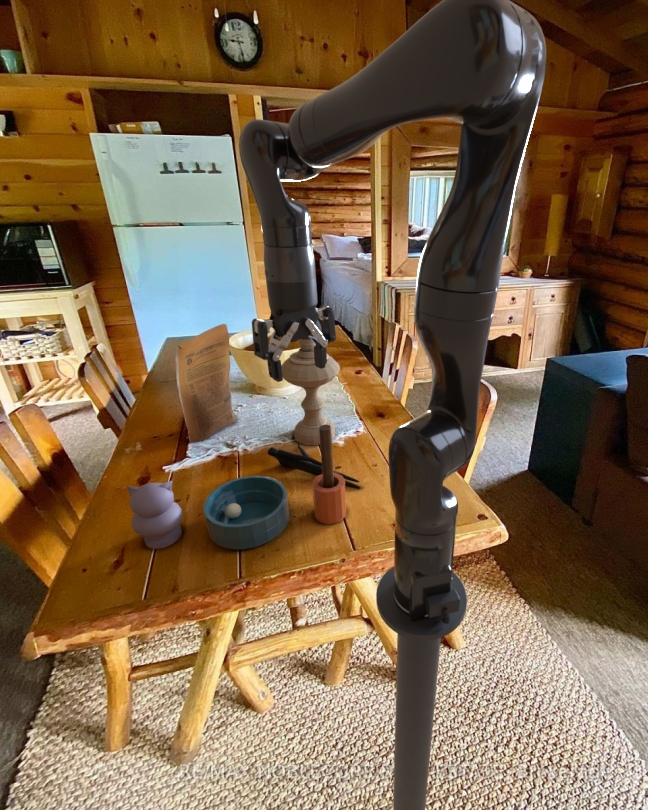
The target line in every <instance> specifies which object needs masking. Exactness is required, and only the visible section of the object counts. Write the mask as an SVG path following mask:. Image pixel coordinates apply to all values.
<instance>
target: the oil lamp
mask: <svg viewBox="0 0 648 810" xmlns="http://www.w3.org/2000/svg"><path fill="white" fill-rule="evenodd" d="M315 326H316V327H317V328H318V330H319V331H320V332H321V322H320V320H319V319H318V320H317V322H316V324H315ZM298 344H299V345H300V348H299V349H298V351H294V352H292V353H291V354H290V355H289V357H288V358H287V359H285V360H284V361H283V363H281V367H282V376H283V380H284V381H285V382H287V383H288V384H291V385H293V386H296V387H300V388H302V389H304V392H305V397H304V398H303V400H302V401H301V403H300V406H301V408H302V410H303V412H304V415H303V418H302V419H301V420H299V421H298V422H297V423H296V424H295V426H294V431H293V437H294V439H295V441H296V442H298V444H302V445H306V446H318V445H319V446H320V435H319V427H320V426H321V425H330V426H331V437H332V440H333V439H335V437H336V426H335V424H334V423H333V421H332V420H330V419H329V418H327V417H325V415H324V414H323V408H324V407H325V401H324V400H323V398H321V397H320V395H319V394H318V391H319V389H320V387H322V386H323V385H326V384H328V383H330V382H332V381H333V380H334V379H335V377H337V375H338V374H339V373H340V370H341V367H340V364H339V363H338V362H337V361H336V360H335V359H334V358H333V357H332V356H331V355H329V354H328V353H327V363H326V364H325V368H322V369H320V368H318V367H316V366H315V360H314V347H313V346H316V344H315V343H314V342H313V341H312V340H311V339H310V338H309V337H308V338H307V339H299V340H298Z"/></svg>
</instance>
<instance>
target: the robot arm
mask: <svg viewBox="0 0 648 810" xmlns="http://www.w3.org/2000/svg"><path fill="white" fill-rule="evenodd" d="M547 51H548V50H547V44H546V38H545V35H544V33H543V29H542V27H541V25H540V23H539V22H538V20H537V19H536V18H535V17H534V16H533V15H532V14H531V13H530V12H528V11H527V10H526V9H524V8H523V7H521V6H520V5H517V4H516V3H514V2H513V1H511V0H441V1H440V2H439V3H437V4H435V6H433V7H432V8H431V9H430V10H429V11H427V12H426V13H425V14H424V15H423V16H422V17H420V18H419V19H418V20H417V21H416V22H415V23H414V24H412V25H411V26H410V27H409V28H408V29H407V30H406V31H405V32H404V33H403V34H401V35H400V36H399V38H397V39H396V40H395V41H394V42H393V43H392V44H390V45H389V46H388V47H387V48H386V49H384V50H383V51H382V52H381V53H380V54H378V55H377V56H376V57H375V58H374V59H373V60H371V61H370V62H368V64H366V65H365V66H364V67H363V68H362V69H360V70H359V71H358V72H356V73H355V74H353V75H352V76H351V77H349V78H348V79H347V80H345V81H343V82H341V83H339V85H336V86H334V87H333V88H330V89H329V90H327V91H325V92H323V93H321V94H319V95H318V96H316V97H313V98H311V99H310V100H308V101H307V102H305V103H303V104H301V105H300V106H298V107H297V108H296V109H295V110H294V111H293V113H292V115H291V116H290V118H289V121H288V122H283V121H275V120H266V119H260V118H259V119H258V118H257V119H256V118H255V119H250V120H249V121H247V122H246V123H245V124H244V126H243V127H242V130H241V131H240V135H239V141H238V154H239V158H240V163H241V166H242V169H243V172H244V174H245V177H246V179H247V182H248V184H249V185H248V186H249V187H250V190H251V193H252V195H253V199H254V201H255V205H256V207H257V210H258V213H259V216H260V217H259V218H260V224H261V225H260V226H261V232H262V233H261V234H262V242H263V267H264V276H265V283H266V291H267V301H268V306H269V307H268V308H269V310H270V316H269V318H265V319H258V318H253V319H252V320H251V330H252V331H251V333H252V345H253V355H254V356H255V357H257V358H259V359H262V360H263V361H266V362H267V370H268V376H269V377H270V378H271V379H272V380H273V381H275V382H277V383H280V382H282V381H283V380H284V379H283V376H282V367H281V365H282V360H281V359H280V358H281V356H282V354H283V352H284V350H287V348H288V347H289V345H290V343H295V342H299V339H307V338H308V337H309V338H310V339H311V340H312V341H313V342H314V343H315V345H316V346H313V347H314V360H315V366H316V367H318V368H320V369H322V368H325V364H326V363H327V354H328V353H327V347H328V345H330V343H335V342H336V340H337V334H336V324H335V314H334V312H335V311H334V309H333V308H332V307H329V306H327V305H323V304H321V305H319V307H318V308H317V305H318V290H317V289H318V288H317V276H316V261H315V259H316V258H315V254H314V248H313V241H312V238H313V237H312V225H311V214H310V209H309V207H308V206H307V204H306V203H304V202H303V201H300V200H296V199H293V198H291V197H288V195H287V193H286V191H285V188H284V186H283V184H282V182H301V181H307V180H310V179H312V178H315V177H317V176H318V175H319V174H320V173H322V172H323V171H325V170H326V168H328V167H329V166H332V165H335V164H338V163H340V162H341V163H342V162H343V161H346V160H349V159H351V158H354V157H356V156H359V155H361V154H362V153H364V152H366V151H367V150H369V149H370V148H371V147H372V146H374V145H375V144H376V142H377V141H379V139H380V138H381V137H382V136H383V135H384V134H385V133H387V132H388V131H390V130H392V129H394V128H396V127H399V126H402V125H405V124H409V123H415V122H421V121H426V120H427V121H428V120H435V119H436V120H437V119H448V120H450V121H453V122H455V123H459V124H460V132H459V133H460V134H459V141H458V142H459V144H458V152H457V158H456V159H457V160H456V165H455V166H456V167H455V172H454V177H453V180H452V185H451V187H450V191H449V194H448V196H447V198H446V200H445V202H444V205H443V207H442V209H441V211H440V213H439V215H438V217H437V219H436V221H435V224H434V225H433V227H432V229H431V232H430V234H429V236H428V238H427V240H426V242H425V245H424V247H423V250H422V253H421V256H420V259H419V263H418V268H417V275H416V285H415V297H414V310H413V311H414V312H413V319H414V326H415V330H416V333H417V337H418V339H419V341H420V343H421V346H422V349H423V351H424V354H425V355H426V357H427V360H428V362H429V364H430V369H431V388H430V396H429V401H428V404H427V408H426V411H425V412H424V413H422V414H420V415H418V416H417V417H415V418H413V419H410V420H408V421H407V422H405V423H404V424H401V425H400V426H398V427H396V429H395V430H394V431H393V432H392V434H391V435H390V438H389V442H388V453H387V455H388V475H389V492H390V496H391V497H390V498H391V500H392V503H393V506H394V513H395V514H394V516H395V517H394V559H393V561H394V563H393V566H394V587H393V597H394V601H395V603H396V605H397V606H398V608H399V609H400V610H401V611H402V612H404V613H405V614H407V615H409V617H410V619H411V621H412V622H414V621H419V620H423V619H428V618H433V617H436V616H441V615H444V618H443V619H442V621H443V623H445V624H448V623H449V622H450V616H449V613H454V612H458V611H459V606H460V598H459V596H458V594H457V592H456V590H455V589H452V590H451V582H452V572H453V564H454V554H455V544H456V533H457V525H458V515H459V502H458V498H457V496H456V494H455V493H454V492H453V490H451V489H449V488H448V487H447V486H445V485H444V481H446V480H447V479H448V478H450V477H451V476H452V475H454V474H456V473H457V472H458V471H460V470H461V469H462V468H464V467H465V466H466V465H467V464H468V463H469V462H470V460H471V459H472V457H473V455H474V452H475V448H476V444H477V443H476V442H477V434H478V433H477V431H478V418H479V417H478V416H479V401H480V389H481V382H482V377H483V371H484V365H485V360H486V355H487V353H486V352H487V349H488V348H487V347H488V342H489V335H490V331H491V326H492V321H493V318H494V314H495V308H496V303H497V297H498V291H499V285H500V280H501V279H500V277H501V272H502V264H503V259H504V254H505V249H506V243H507V237H508V234H509V233H508V232H509V227H510V221H511V218H512V217H511V216H512V211H513V210H512V209H513V203H514V198H515V192H516V187H517V184H518V180H519V176H520V172H521V167H522V163H523V161H524V157H525V154H526V153H525V152H526V148H527V145H528V142H529V138H530V134H531V131H532V128H533V124H534V120H535V117H536V114H537V110H538V106H539V102H540V98H541V94H542V91H543V86H544V82H545V76H546V70H547V58H548V57H547V55H548V53H547ZM317 320H318V321H319V323H320V325H321V330H320V331H319V330H318V328H317V327H316V326H315V324H316V322H317ZM271 328H272V329H273V332H272V334H271V336H270V338H269V334H270V333H271Z"/></svg>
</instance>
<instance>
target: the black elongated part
mask: <svg viewBox="0 0 648 810" xmlns="http://www.w3.org/2000/svg"><path fill="white" fill-rule="evenodd" d="M297 449H298V450H299V452H300V454H297V453H293V452H290V451H287V450H285V449H281V448H280V449H277V448H276V447H272V446H271V447H269V449H268V450H267V455H268V456H269V457H273V458H274V459H276V460H277V461H278V463H279V465H280V466H283V467H288V468H289V467H290V468H294V469H296V470H299V471H301V472H305V473H307V474H310V475H313V476H315V477H317V476H318V475H321V474H322V462H321V461H319V460H317V459H315V458H312V457H310V456H309V454H308V453H307V452H306V451H305V449H303V448H302V447H300V443H298V445H297ZM334 473H337V474H339V475H341V476H343V478H344V479H345V486H347V487H351V488H354V489H358V490H359V489H361V486H359V485H358V484H359V483H360V481H359V480H358V479H356V478H354V477H351V476H349V475H346V474H345V473H343V472H338V471H336V470H334ZM355 483H358V484H355Z"/></svg>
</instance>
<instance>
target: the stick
mask: <svg viewBox="0 0 648 810" xmlns="http://www.w3.org/2000/svg"><path fill="white" fill-rule="evenodd" d="M319 435H320V444H319V446H320V447H319V448H320V460H321V461H320V462H321V463H322V476H323V488H327V489H328V488H333V487H334V471H335V470H334V457H333V455H334V454H333V439H332V437H331V426H330V425H321V426H320V427H319Z"/></svg>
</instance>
